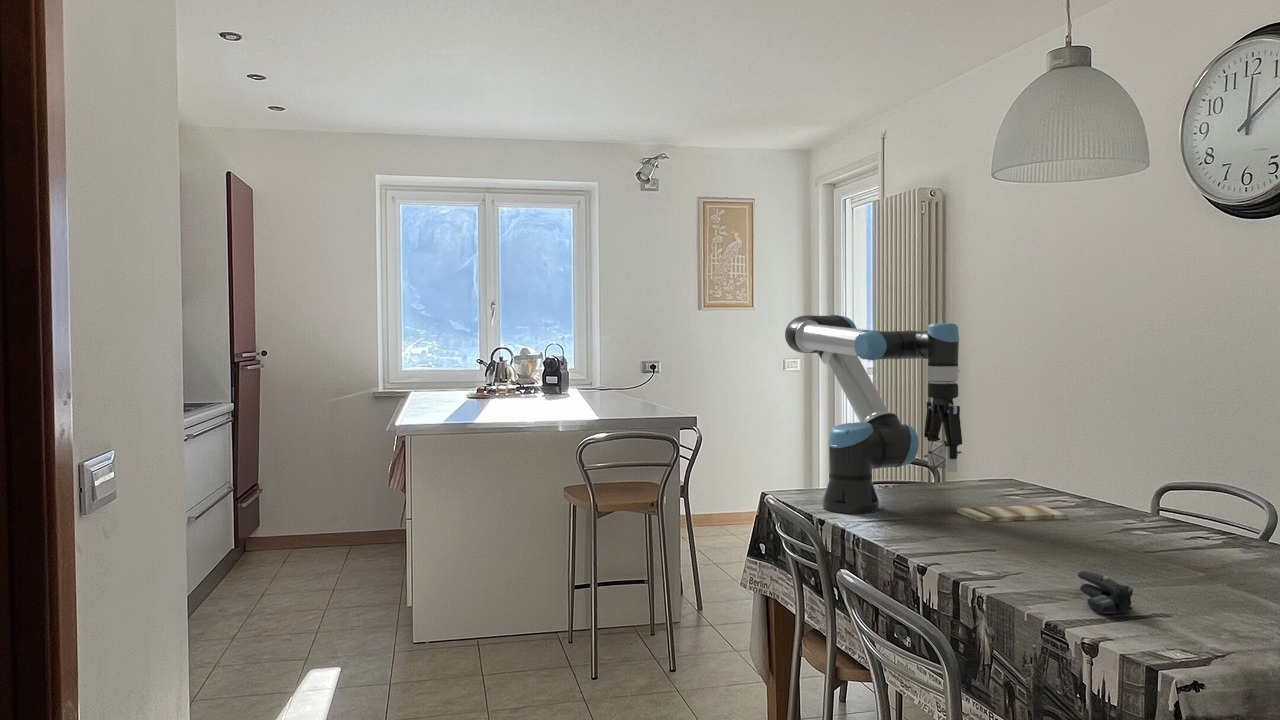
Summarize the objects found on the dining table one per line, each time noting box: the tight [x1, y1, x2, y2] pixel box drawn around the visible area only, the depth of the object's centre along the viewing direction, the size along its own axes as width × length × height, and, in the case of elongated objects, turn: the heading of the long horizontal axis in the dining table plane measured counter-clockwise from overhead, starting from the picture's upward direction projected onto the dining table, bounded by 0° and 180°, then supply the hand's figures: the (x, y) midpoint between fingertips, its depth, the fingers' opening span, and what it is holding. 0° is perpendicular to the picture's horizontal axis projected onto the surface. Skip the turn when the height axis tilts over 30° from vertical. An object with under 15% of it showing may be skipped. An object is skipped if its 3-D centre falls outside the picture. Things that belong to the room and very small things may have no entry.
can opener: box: [1077, 570, 1134, 615], centre depth 156 cm, size 18×7×6 cm, turn 171°
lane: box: [956, 504, 1068, 522], centre depth 230 cm, size 24×12×1 cm, turn 97°
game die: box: [923, 439, 962, 471], centre depth 227 cm, size 9×8×10 cm
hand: (942, 468), depth 227 cm, fingers closed on game die, 9 cm apart
